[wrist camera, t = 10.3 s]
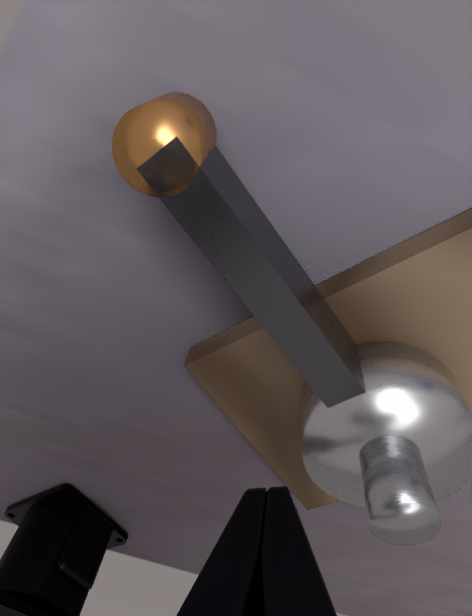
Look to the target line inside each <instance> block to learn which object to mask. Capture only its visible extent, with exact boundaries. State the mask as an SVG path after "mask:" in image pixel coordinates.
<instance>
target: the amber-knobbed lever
mask: <svg viewBox="0 0 472 616" xmlns="http://www.w3.org/2000/svg"><path fill="white" fill-rule="evenodd" d="M215 144H216V127H215V123H214V120H213V117H212V115H211V113H210V112H209V110H208V109H207V108H206V106H205V105H204V104H203V103H202V102H201V101H199V100H198V99H197V98H195V97H193V96H191V95H189V94H185V93H180V92H172V93H167V94H164V95H162V96H160V97H157V98H155V99H153V100H150V101H148V102H146V103H144V104H141V105H139V106H137V107H135V108H133V109H131V110H129V111H128V112H127V113H125V114H124V116H123V117H122V118H121V119H120V120H119V122H118V124H117V126H116V128H115V131H114V134H113V140H112V151H113V156H114V160H115V163H116V165H117V168H118V170H119V171H120V173H121V175H122V176H123V177H124V179H125V180H126V181H127V182H128V183H129V184H130V185H131V186H132V187H134V188H135V189H137V190H138V191H140V192H142V193H144V194H147V195H150V196H154V197H159V198H160V199H161V200H162V202H163V203H164V204H165V205H166V207H167V208H168V209H169V210H170V212H171V213H172V214H173V215H174V217H175V218H176V219H177V220H178V222H179V223H180V224H181V225H182V227H183V228H184V229H185V230H186V232H187V233H188V234H189V235H190V237H191V238H192V239H193V240H194V242H195V243H196V244H197V245H198V247H199V248H200V249H201V250H202V252H203V253H204V254H205V255H206V257H207V258H208V259H209V260H210V262H211V263H212V264H213V265H214V267H215V268H216V269H217V270H218V272H219V273H220V274H221V275H222V277H223V278H224V279H225V280H226V282H227V283H228V284H229V285H230V287H231V288H232V289H233V290H234V292H235V293H236V294H237V295H238V297H239V298H240V299H241V300H242V302H243V303H244V304H245V305H246V307H247V308H248V309H249V310H250V312H251V313H252V314H253V315H254V317H255V318H256V319H257V320H258V322H259V323H260V324H261V325H262V327H263V328H264V329H265V330H266V332H267V333H268V334H269V335H270V337H271V338H272V339H273V340H274V342H275V343H276V344H277V345H278V347H279V348H280V349H281V350H282V352H283V353H284V354H285V355H286V357H287V358H288V359H289V360H290V362H291V363H292V364H293V365H294V367H295V368H296V369H297V370H298V372H299V373H300V374H301V375H302V377H303V378H304V379H305V380H306V382H307V383H306V385H305V388H304V391H303V395H302V456H303V463H304V466H305V468H306V471H307V473H308V474H309V476H310V478H311V479H312V480H313V481H314V483H315V484H316V485H317V486H318V487H319V488H320V489H322V490H323V491H324V492H326V493H327V494H329V495H330V496H332V497H334V498H336V499H338V500H340V501H342V502H344V503H347V504H350V505H353V506H357V507H361V508H366V509H367V515H368V522H369V528H370V530H371V532H372V533H373V535H374V536H376V537H377V538H378V539H380V540H382V541H384V542H387V543H390V544H395V545H415V544H419V543H423V542H425V541H428V540H430V539H431V538H433V537H434V536H435V535H436V534H437V533H438V532H439V530H440V528H441V520H440V516H439V513H438V510H437V506H436V503H435V502H437V501H440V500H442V499H444V498H446V497H448V496H450V495H452V494H453V493H455V492H456V491H458V490H459V489H460V488H462V487H463V486H464V485H465V484H466V483H467V482H468V481H469V480H470V479H471V478H472V414H471V412H470V410H469V408H468V405H467V403H466V401H465V399H464V397H463V395H462V392H461V390H460V388H459V386H458V384H457V382H456V380H455V378H454V376H453V374H452V372H451V371H450V370H449V368H448V367H447V366H446V365H445V364H444V363H443V362H442V361H440V360H439V359H438V358H436V357H435V356H433V355H431V354H429V353H428V352H426V351H423V350H421V349H418V348H415V347H412V346H408V345H403V344H396V343H374V344H366V345H361V346H357V345H356V343H355V342H354V340H353V339H352V338H351V336H350V335H349V333H348V332H347V331H346V329H345V328H344V326H343V325H342V323H341V322H340V321H339V319H338V318H337V316H336V315H335V314H334V312H333V311H332V309H331V308H330V306H329V305H328V304H327V302H326V301H325V299H324V298H323V297H322V295H321V294H320V292H319V291H318V290H317V288H316V287H315V285H314V284H313V282H312V281H311V280H310V278H309V277H308V275H307V274H306V273H305V271H304V270H303V268H302V267H301V266H300V264H299V263H298V261H297V260H296V258H295V257H294V256H293V254H292V253H291V251H290V250H289V249H288V247H287V246H286V244H285V243H284V242H283V240H282V239H281V237H280V236H279V234H278V233H277V232H276V230H275V229H274V227H273V226H272V225H271V223H270V222H269V220H268V219H267V218H266V216H265V215H264V213H263V212H262V210H261V209H260V208H259V206H258V205H257V203H256V202H255V201H254V199H253V198H252V196H251V195H250V193H249V192H248V191H247V189H246V188H245V186H244V185H243V184H242V182H241V181H240V179H239V178H238V177H237V175H236V174H235V172H234V171H233V169H232V168H231V167H230V165H229V164H228V162H227V161H226V160H225V158H224V157H223V155H222V154H221V153H220V151H219V150H218V148H217V147H216V145H215Z"/></svg>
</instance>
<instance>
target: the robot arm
mask: <svg viewBox="0 0 472 616" xmlns="http://www.w3.org/2000/svg"><path fill="white" fill-rule="evenodd" d="M5 516H6V517H7V518H9V519H10V520H11V521H13V522H14V523H15V524H17V525H18V526H19V527H18V529H17V531H16V533H15V534H14V536H13V538H12V540H11V541H10V543H9V545H8V547H7V549H6V550H5V552H4V554H3V556H2V557H1V559H0V616H80V613H81V610H82V608H83V605H84V602H85V600H86V597H87V594H88V592H89V589H91V588H92V586H93V584H94V581H95V578H96V576H97V573H98V570H99V567H100V565H101V562H102V560H103V557H104V554H105V551H106V549H110V548H113V547H116V546H119V545H123V544H125V543H126V541H127V538H128V535H127V533H126V532H124V531H123V530H122V529H121V528H120V527H119V526H117V525H116V524H115V523H114V522H113V521H112V520H110V519H109V518H108V517H107V516H106V515H105V514H104V513H102V512H101V511H100V510H99V509H98V508H97V507H95V506H94V505H93V504H92V503H91V502H90V501H88V500H87V499H86V498H85V497H84V496H83V495H81V494H80V493H79V492H78V491H77V490H76V489H75V488H73V487H72V486H70V485H68V484H63V485H60V486H58V487H55V488H53V489H50V490H48V491H45V492H43V493H40V494H38V495H36V496H33V497H31V498H28V499H26V500H23V501H21V502H18V503H16V504H13V505H11V506H9V507H8V508H7V510H6V511H5ZM177 616H337V615H336V612H335V609H334V607H333V604H332V601H331V599H330V596H329V593H328V591H327V588H326V585H325V583H324V580H323V577H322V575H321V572H320V569H319V567H318V564H317V561H316V559H315V556H314V553H313V551H312V548H311V545H310V543H309V540H308V537H307V535H306V532H305V529H304V527H303V524H302V521H301V519H300V516H299V513H298V511H297V508H296V505H295V503H294V500H293V497H292V495H291V492H290V490H289V488H288V487H286V486H284V487H271V488H269V489H268V490H267V489H266V488H254V489H248V490H246V491H245V493H244V494H243V496H242V498H241V500H240V502H239V503H238V505H237V507H236V509H235V511H234V512H233V514H232V516H231V518H230V520H229V522H228V523H227V525H226V527H225V529H224V531H223V532H222V534H221V536H220V538H219V540H218V541H217V543H216V545H215V547H214V549H213V550H212V552H211V554H210V556H209V558H208V560H207V561H206V563H205V565H204V567H203V569H202V570H201V572H200V574H199V576H198V578H197V580H196V581H195V583H194V585H193V587H192V589H191V590H190V592H189V594H188V596H187V598H186V599H185V601H184V603H183V605H182V607H181V608H180V610H179V612H178V614H177Z"/></svg>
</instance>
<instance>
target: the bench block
mask: <svg viewBox="0 0 472 616" xmlns="http://www.w3.org/2000/svg"><path fill="white" fill-rule="evenodd" d="M315 287H316V288H317V290H318V291H319V292H320V294H321V295H322V297H323V298H324V299H325V301H326V302H327V304H328V305H329V306H330V308H331V309H332V311H333V312H334V314H335V315H336V316H337V318H338V319H339V321H340V322H341V323H342V325H343V326H344V328H345V329H346V331H347V332H348V333H349V335H350V336H351V338H352V339H353V340H354V342H355V343H356V345H357V346H361V345H366V344H374V343H396V344H403V345H408V346H412V347H415V348H418V349H421V350H423V351H426V352H428V353H429V354H431V355H433V356H435V357H436V358H438V359H439V360H440V361H442V362H443V363H444V364H445V365H446V366H447V367H448V368H449V370H450V371H451V372H452V374H453V376H454V378H455V380H456V382H457V384H458V386H459V388H460V390H461V392H462V395H463V397H464V399H465V401H466V403H467V405H468V408H469V410H470V412H471V414H472V208H471V209H469V210H467V211H465V212H462V213H460V214H458V215H456V216H454V217H452V218H450V219H448V220H446V221H444V222H442V223H440V224H438V225H436V226H434V227H432V228H430V229H428V230H426V231H424V232H422V233H420V234H418V235H416V236H414V237H412V238H410V239H408V240H406V241H404V242H402V243H400V244H398V245H396V246H394V247H392V248H390V249H388V250H386V251H384V252H382V253H380V254H378V255H376V256H374V257H372V258H370V259H368V260H366V261H364V262H362V263H360V264H358V265H356V266H354V267H352V268H350V269H348V270H346V271H344V272H342V273H340V274H338V275H335V276H333V277H331V278H329V279H327V280H325V281H323V282H321V283H319V284H317V285H315ZM184 366H185V367H186V368H187V370H188V371H189V372H190V373H191V374H192V375H193V377H194V378H195V379H196V380H197V381H198V382H199V384H200V385H201V386H202V387H203V388H204V389H205V391H206V392H207V393H208V394H209V395H210V397H211V398H212V399H213V400H214V401H215V402H216V404H217V405H218V406H219V407H220V408H221V409H222V411H223V412H224V413H225V414H226V415H227V416H228V418H229V419H230V420H231V421H232V422H233V423H234V425H235V426H236V427H237V428H238V429H239V430H240V432H241V433H242V434H243V435H244V436H245V437H246V439H247V440H248V441H249V442H250V443H251V444H252V446H253V447H254V448H255V449H256V450H257V451H258V453H259V454H260V455H261V456H262V457H263V459H264V460H265V461H266V462H267V463H268V464H269V466H270V467H271V468H272V469H273V470H274V471H275V473H276V474H277V475H278V476H279V477H280V478H281V480H282V481H283V482H284V483H285V484H286V485H287V487H288V488H289V489H290V490H291V491H292V492H293V494H294V495H295V496H296V497H297V498H298V499H299V501H300V502H301V503H302V504H303V505H304V506H305V508H306V509H307V510H310V509H313V508H316V507H320V506H323V505H327V504H330V503H334V502H337V501H340V500H338V499H336V498H334V497H332V496H330V495H329V494H327V493H326V492H324V491H323V490H322V489H320V488H319V487H318V486H317V485H316V484H315V483H314V481H313V480H312V479H311V478H310V476H309V474H308V473H307V471H306V468H305V466H304V463H303V456H302V395H303V391H304V388H305V385H306V383H307V382H306V380H305V379H304V378H303V377H302V375H301V374H300V373H299V372H298V370H297V369H296V368H295V367H294V365H293V364H292V363H291V362H290V360H289V359H288V358H287V357H286V355H285V354H284V353H283V352H282V350H281V349H280V348H279V347H278V345H277V344H276V343H275V342H274V340H273V339H272V338H271V337H270V335H269V334H268V333H267V332H266V330H265V329H264V328H263V327H262V325H261V324H260V323H259V322H258V320H257V319H256V318H255V317H254V316H253V317H251V318H249V319H247V320H245V321H243V322H241V323H239V324H237V325H235V326H233V327H231V328H229V329H227V330H225V331H223V332H221V333H219V334H217V335H215V336H213V337H211V338H208V339H206V340H204V341H202V342H200V343H198V344H196V345H194V346H192V347H191V348H190V351H189V354H188V357H187V360H186V362H185V365H184Z"/></svg>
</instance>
